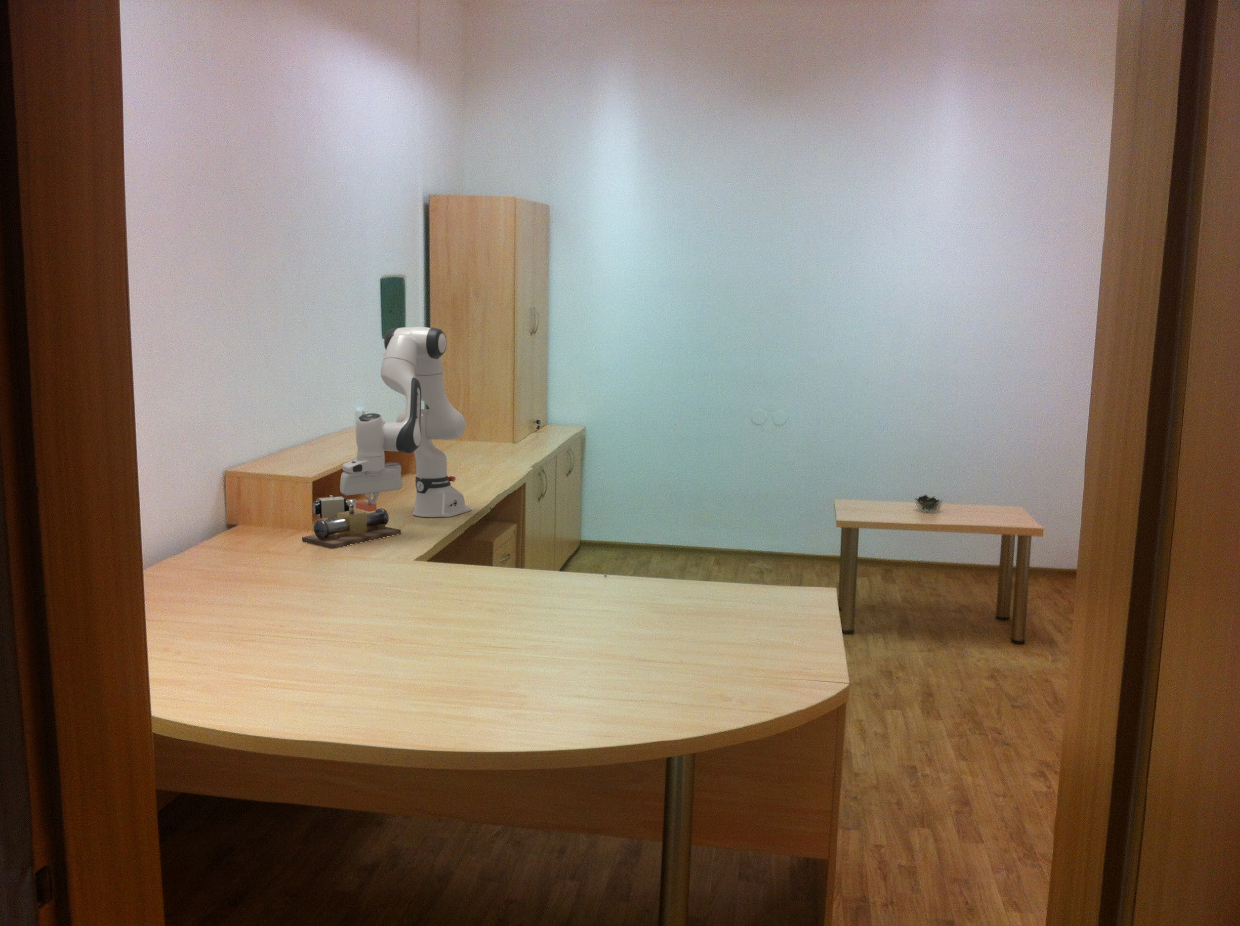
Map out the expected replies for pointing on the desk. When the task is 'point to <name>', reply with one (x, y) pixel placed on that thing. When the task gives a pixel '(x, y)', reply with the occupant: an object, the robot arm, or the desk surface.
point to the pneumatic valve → (330, 507)
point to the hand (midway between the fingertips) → (372, 505)
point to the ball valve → (350, 523)
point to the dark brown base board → (352, 537)
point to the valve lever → (362, 505)
